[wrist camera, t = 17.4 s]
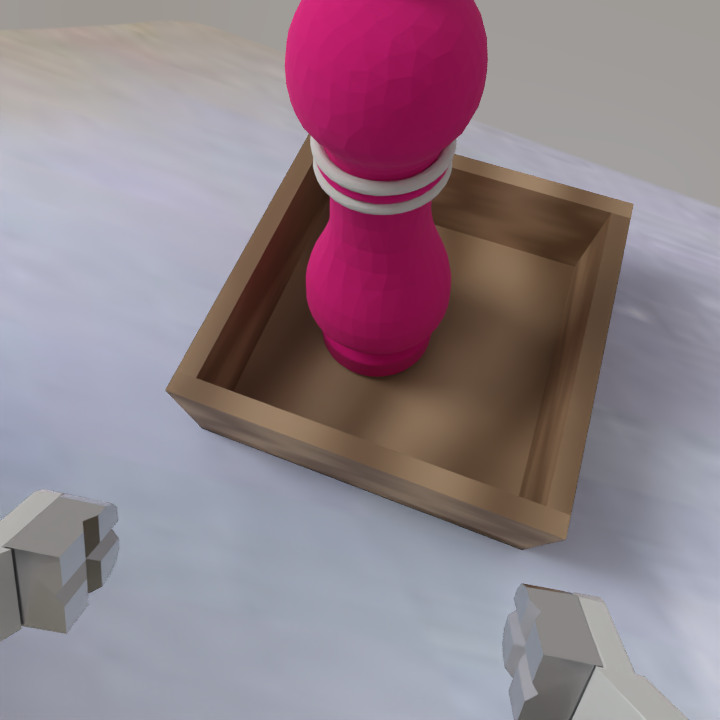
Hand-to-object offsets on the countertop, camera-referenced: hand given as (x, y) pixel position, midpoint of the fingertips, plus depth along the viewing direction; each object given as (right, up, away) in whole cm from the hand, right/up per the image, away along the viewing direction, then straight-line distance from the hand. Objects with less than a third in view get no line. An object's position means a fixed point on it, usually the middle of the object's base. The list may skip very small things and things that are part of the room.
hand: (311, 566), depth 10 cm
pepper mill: (+2, +6, +20) cm, 21 cm away
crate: (+4, +5, +20) cm, 21 cm away
